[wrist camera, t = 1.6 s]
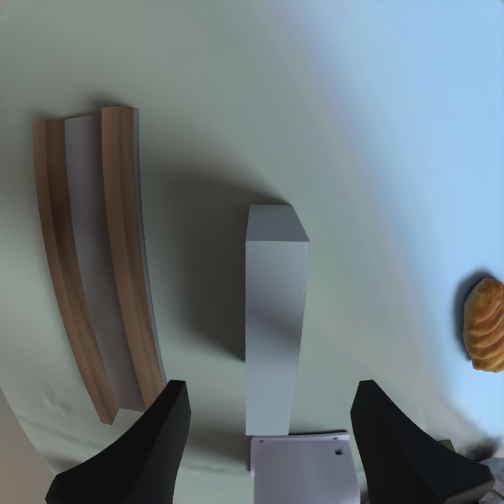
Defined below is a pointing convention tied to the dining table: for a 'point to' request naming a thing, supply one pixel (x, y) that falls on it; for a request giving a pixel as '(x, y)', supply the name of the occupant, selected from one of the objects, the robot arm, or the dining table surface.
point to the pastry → (485, 325)
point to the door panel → (273, 315)
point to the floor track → (100, 254)
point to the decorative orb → (500, 492)
